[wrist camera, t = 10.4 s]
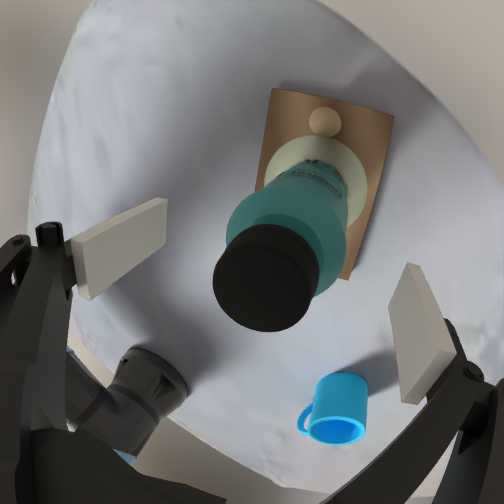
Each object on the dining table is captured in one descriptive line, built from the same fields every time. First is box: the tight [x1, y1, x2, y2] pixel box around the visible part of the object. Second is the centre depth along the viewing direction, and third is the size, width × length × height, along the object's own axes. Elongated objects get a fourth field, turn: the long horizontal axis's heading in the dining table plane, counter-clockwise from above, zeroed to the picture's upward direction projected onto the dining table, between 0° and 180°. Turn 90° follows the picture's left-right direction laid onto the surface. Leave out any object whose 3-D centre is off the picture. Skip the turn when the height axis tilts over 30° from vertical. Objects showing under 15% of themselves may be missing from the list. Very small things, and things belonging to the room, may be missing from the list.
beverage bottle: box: [213, 159, 350, 332], centre depth 19 cm, size 6×7×20 cm
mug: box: [297, 372, 368, 445], centre depth 37 cm, size 12×8×8 cm
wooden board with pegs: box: [255, 88, 394, 280], centre depth 26 cm, size 12×18×8 cm, turn 171°
